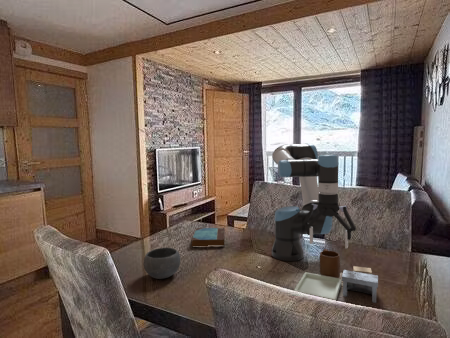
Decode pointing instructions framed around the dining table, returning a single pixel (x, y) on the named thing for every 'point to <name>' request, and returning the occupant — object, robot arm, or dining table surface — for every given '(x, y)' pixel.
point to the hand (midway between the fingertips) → (328, 245)
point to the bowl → (162, 262)
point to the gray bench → (360, 283)
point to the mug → (330, 263)
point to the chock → (362, 270)
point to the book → (208, 236)
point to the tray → (319, 285)
